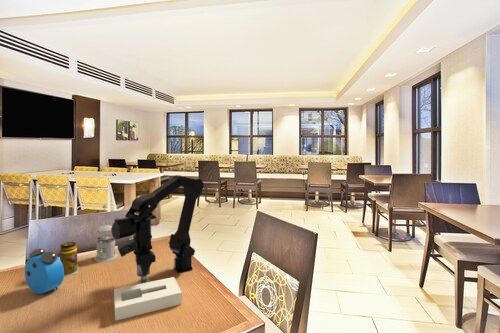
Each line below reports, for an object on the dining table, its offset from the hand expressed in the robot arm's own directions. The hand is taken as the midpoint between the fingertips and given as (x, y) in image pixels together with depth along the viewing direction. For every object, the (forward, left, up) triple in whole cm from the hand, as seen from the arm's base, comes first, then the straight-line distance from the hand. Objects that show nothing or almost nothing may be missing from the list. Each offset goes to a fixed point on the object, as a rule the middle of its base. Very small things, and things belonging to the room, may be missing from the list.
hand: (143, 272), depth 101 cm
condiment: (+27, -26, -5) cm, 38 cm away
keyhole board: (0, +12, -5) cm, 13 cm away
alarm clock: (+32, -12, -5) cm, 35 cm away
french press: (+13, -36, -5) cm, 39 cm away
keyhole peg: (0, 0, -5) cm, 5 cm away
